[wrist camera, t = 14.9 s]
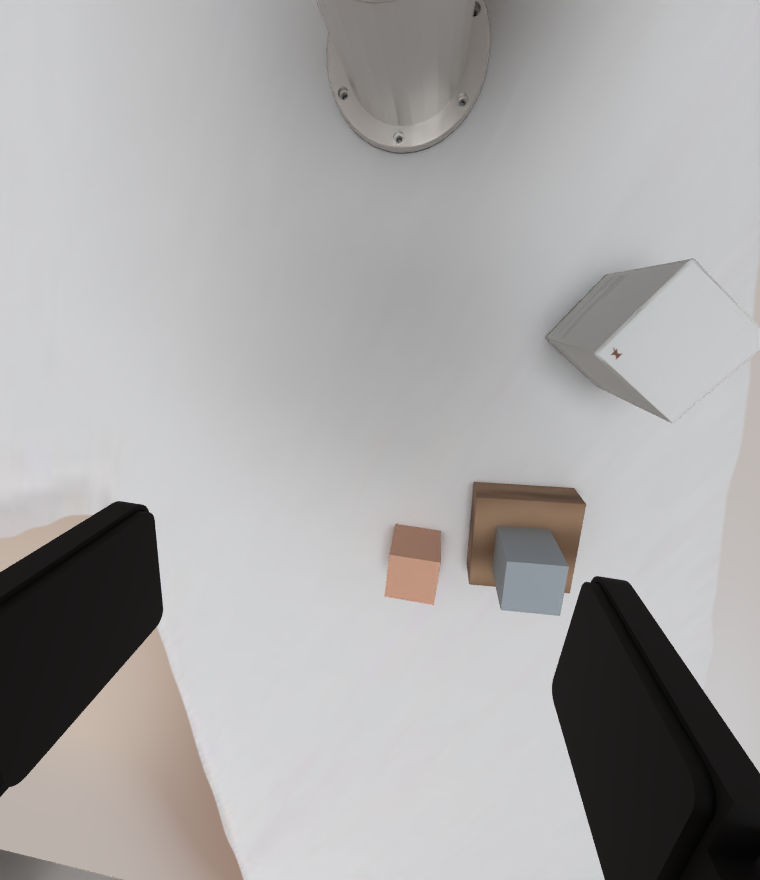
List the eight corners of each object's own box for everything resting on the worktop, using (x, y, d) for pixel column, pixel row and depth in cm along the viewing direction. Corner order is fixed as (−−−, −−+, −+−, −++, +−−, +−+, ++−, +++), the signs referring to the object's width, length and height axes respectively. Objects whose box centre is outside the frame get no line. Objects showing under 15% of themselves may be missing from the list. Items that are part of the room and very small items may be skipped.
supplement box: (599, 390, 39) (670, 428, 27) (542, 337, 38) (590, 352, 26) (667, 328, 36) (778, 340, 24) (608, 270, 36) (694, 254, 24)
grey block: (497, 525, 41) (507, 561, 35) (550, 529, 40) (568, 566, 34) (492, 568, 42) (500, 610, 36) (542, 573, 42) (559, 615, 36)
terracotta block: (395, 523, 46) (389, 554, 40) (440, 530, 46) (440, 562, 40) (391, 561, 48) (384, 596, 42) (434, 568, 47) (433, 604, 42)
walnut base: (473, 480, 44) (477, 497, 40) (572, 486, 42) (586, 504, 39) (466, 561, 47) (469, 584, 43) (558, 569, 46) (569, 593, 42)
